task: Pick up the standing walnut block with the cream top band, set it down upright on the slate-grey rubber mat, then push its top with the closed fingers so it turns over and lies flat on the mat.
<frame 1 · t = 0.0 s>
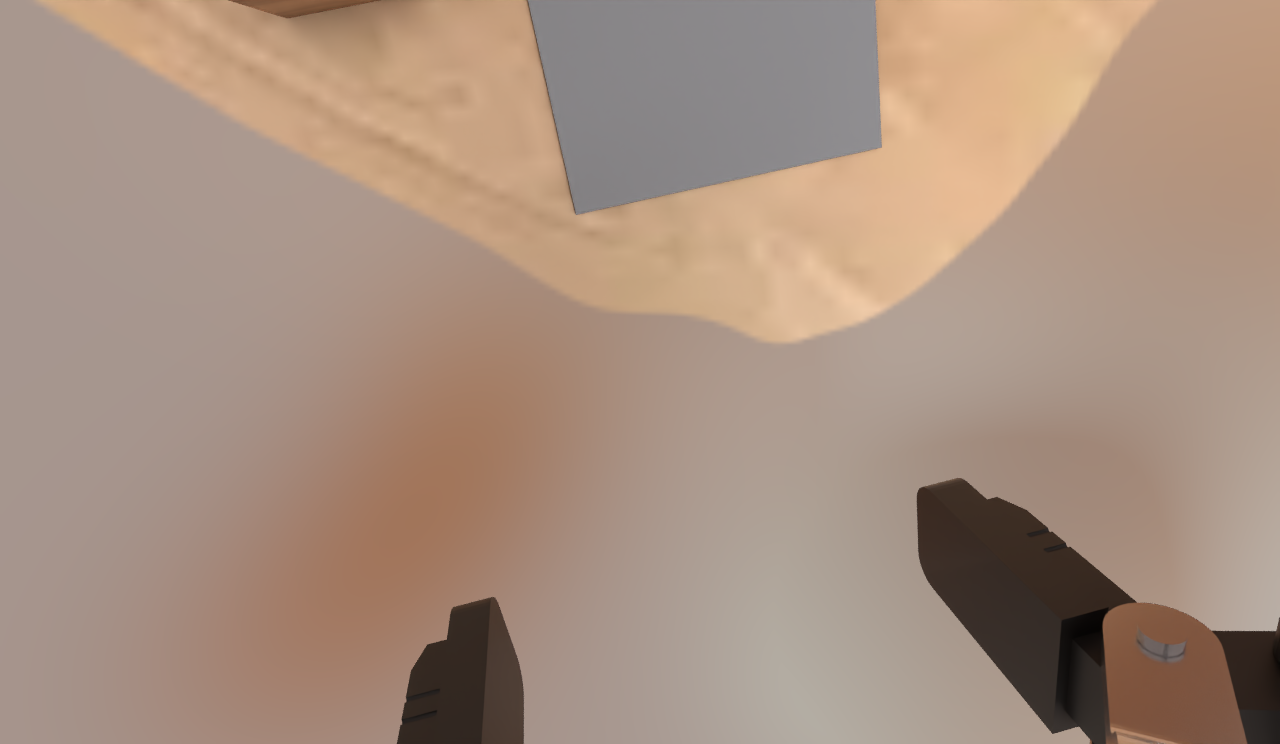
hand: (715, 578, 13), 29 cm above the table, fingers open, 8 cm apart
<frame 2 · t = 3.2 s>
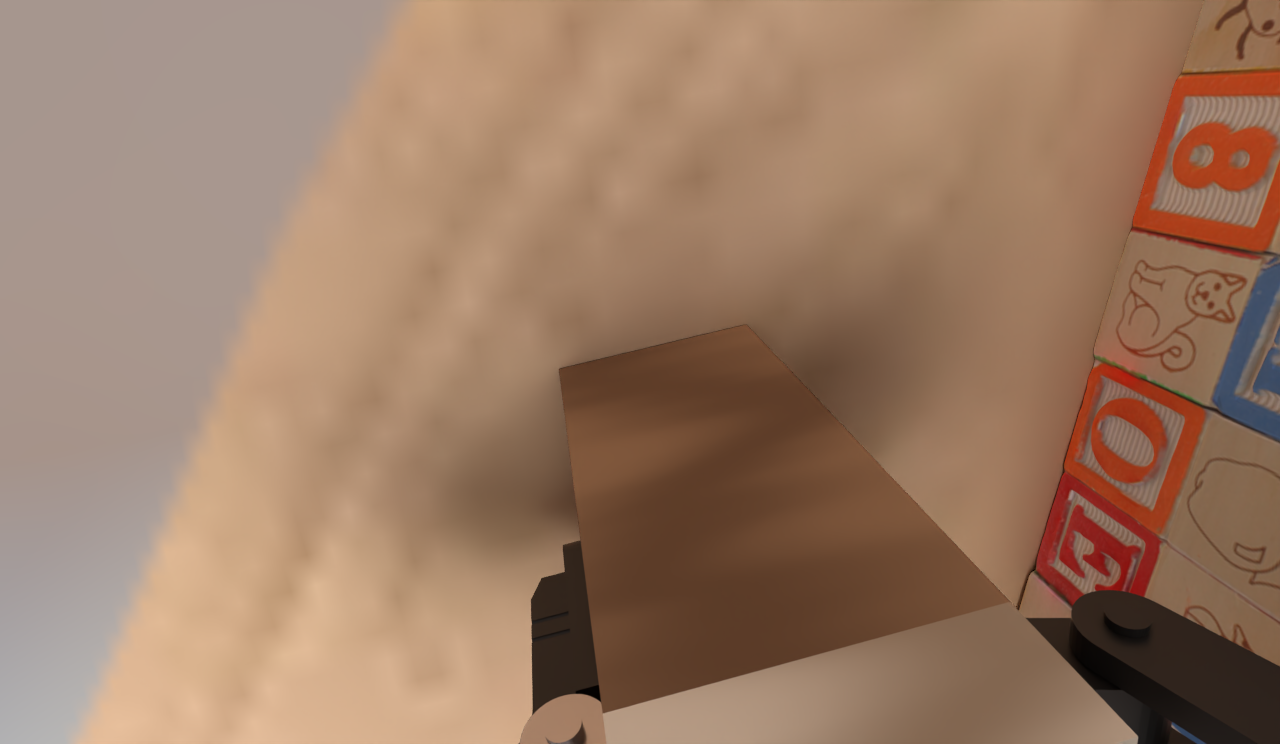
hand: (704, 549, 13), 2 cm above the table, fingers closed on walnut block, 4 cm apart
stack of blocks: (1173, 404, 17), on the table
walnut block: (681, 487, 16), on the table, touching gripper
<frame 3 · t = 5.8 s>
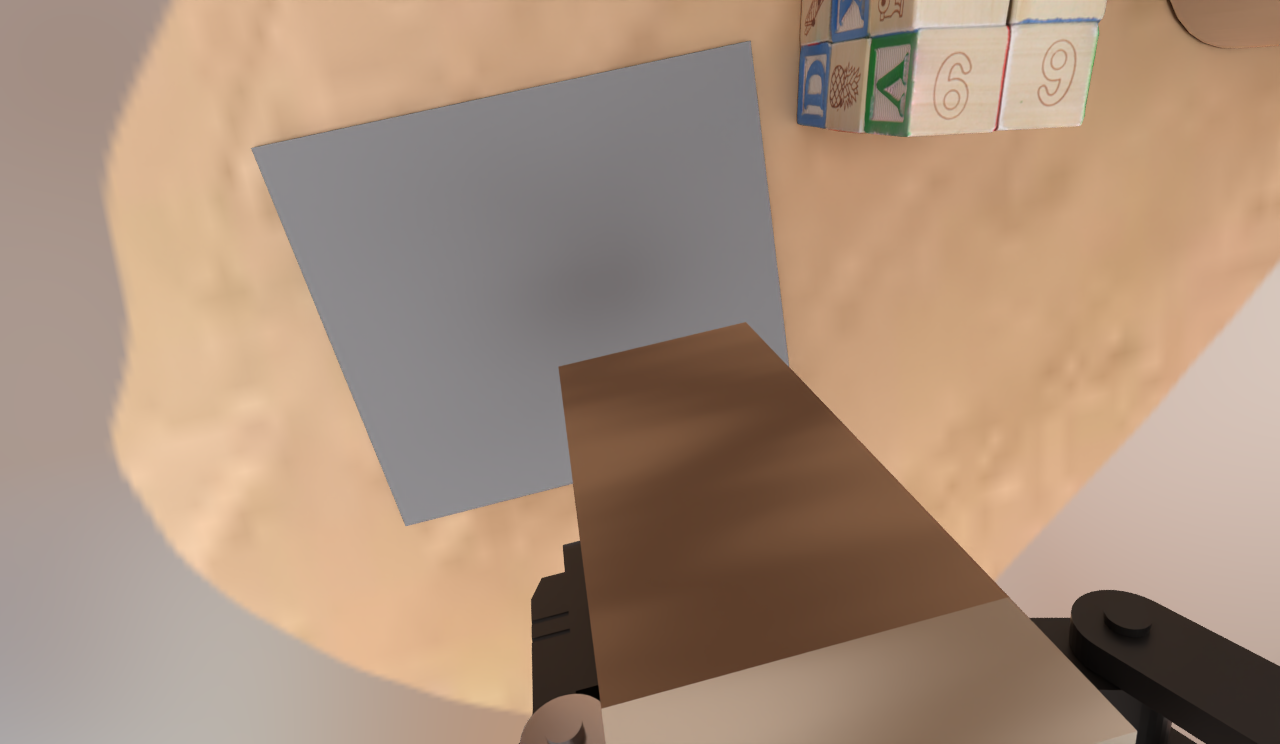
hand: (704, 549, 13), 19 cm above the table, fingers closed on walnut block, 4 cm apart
mat: (561, 304, 31), on the table
walnut block: (680, 484, 16), point 17 cm above the table, touching gripper
when the fingers open (4 cm above the table, at t = 8.5 s): walnut block stays where it is, resting on mat.
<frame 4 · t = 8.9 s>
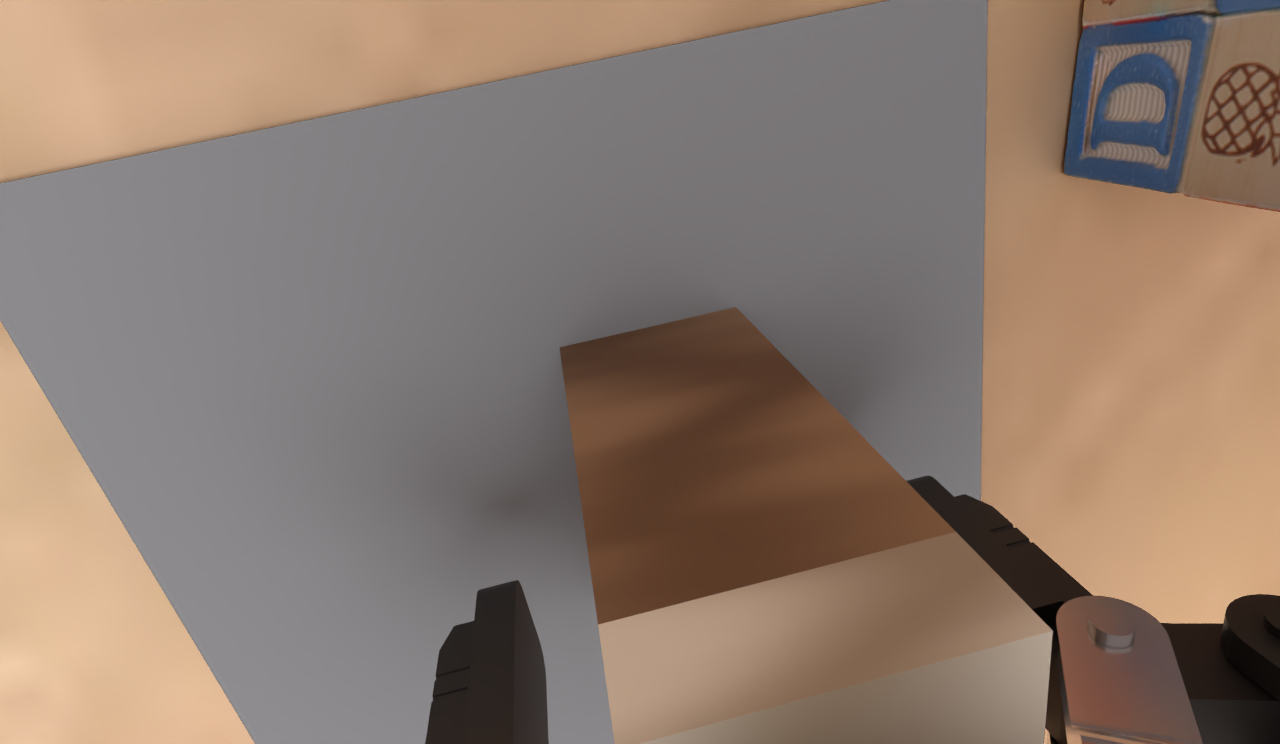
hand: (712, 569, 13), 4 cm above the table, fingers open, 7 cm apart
mat: (588, 476, 17), on the table
walnut block: (674, 461, 17), resting on mat
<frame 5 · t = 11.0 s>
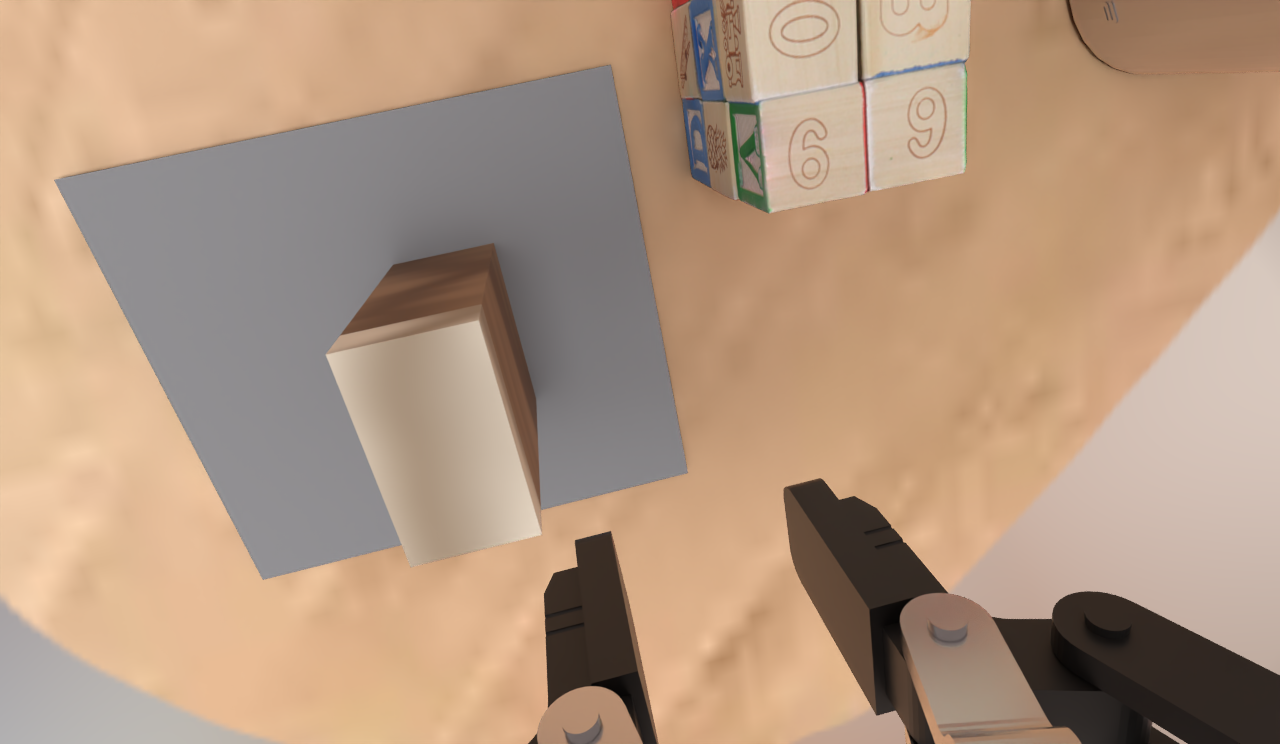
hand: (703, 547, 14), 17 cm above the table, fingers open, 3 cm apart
mat: (420, 345, 29), on the table
walnut block: (468, 335, 28), resting on mat
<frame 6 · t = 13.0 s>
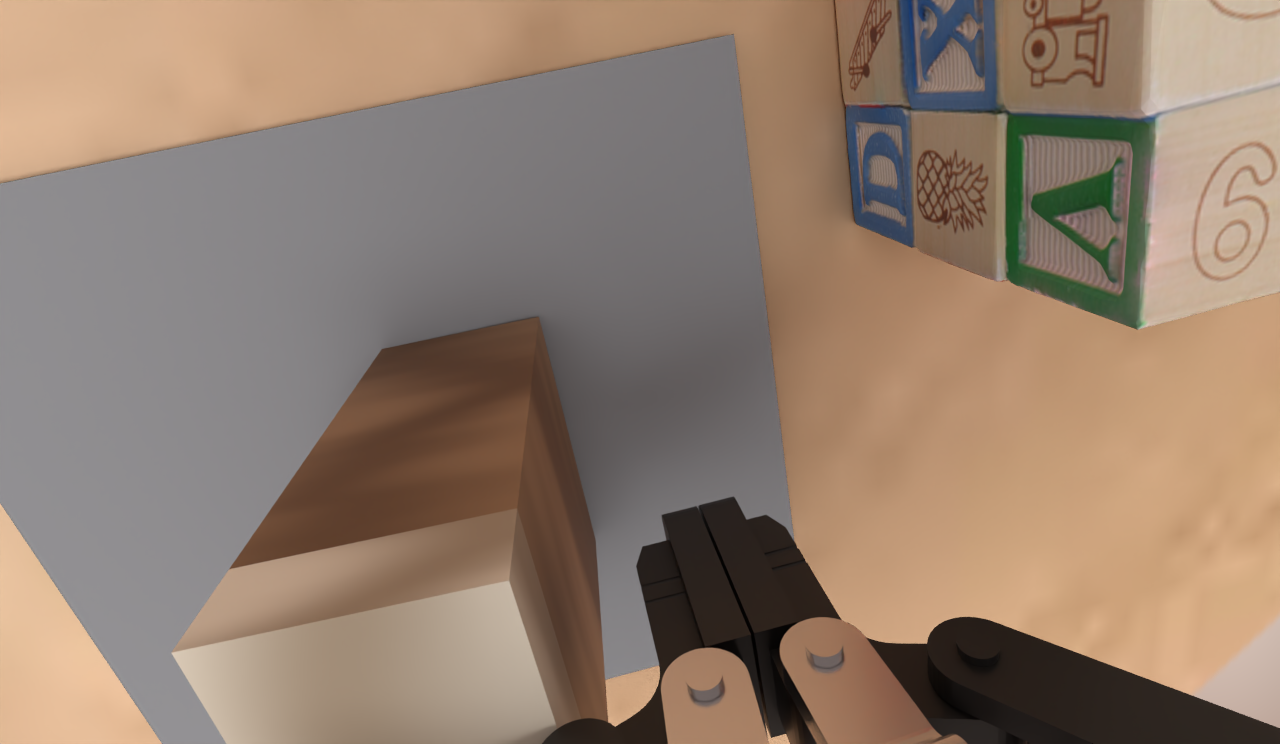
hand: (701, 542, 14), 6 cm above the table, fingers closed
mat: (423, 463, 19), on the table
walnut block: (496, 452, 19), point 1 cm above the table, touching gripper, mat
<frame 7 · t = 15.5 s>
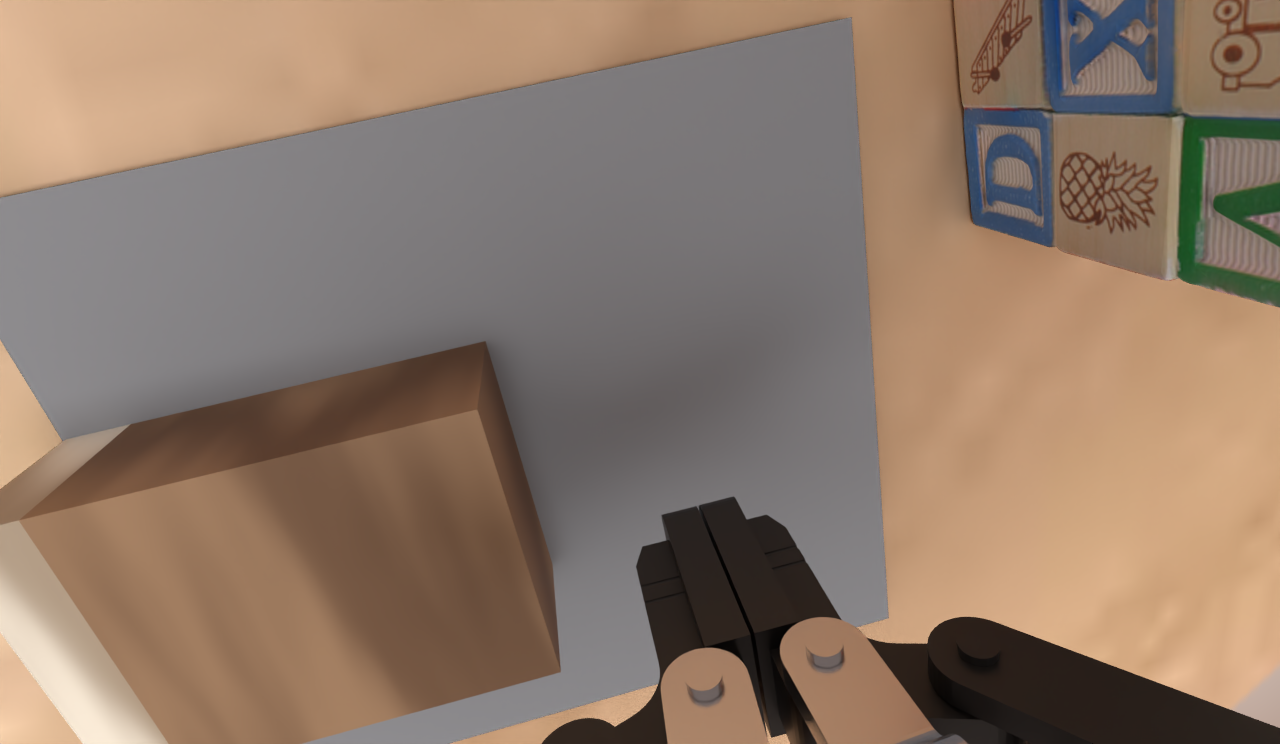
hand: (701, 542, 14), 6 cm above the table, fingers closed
mat: (520, 456, 19), on the table
walnut block: (522, 502, 16), point 2 cm above the table, tilted 90°, touching mat
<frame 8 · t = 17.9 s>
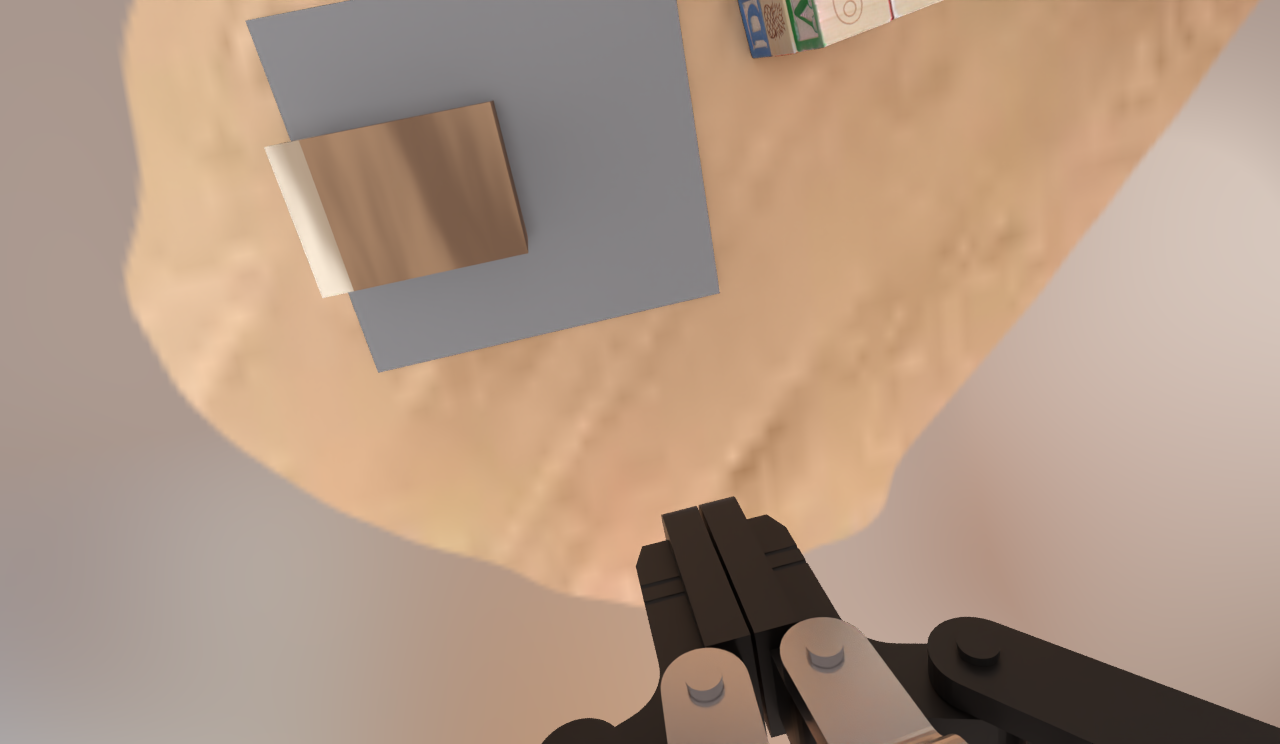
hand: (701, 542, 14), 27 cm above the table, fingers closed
mat: (511, 172, 36), on the table
walnut block: (510, 175, 34), point 2 cm above the table, tilted 90°, touching mat
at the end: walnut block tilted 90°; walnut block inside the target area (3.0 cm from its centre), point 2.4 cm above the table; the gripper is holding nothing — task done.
